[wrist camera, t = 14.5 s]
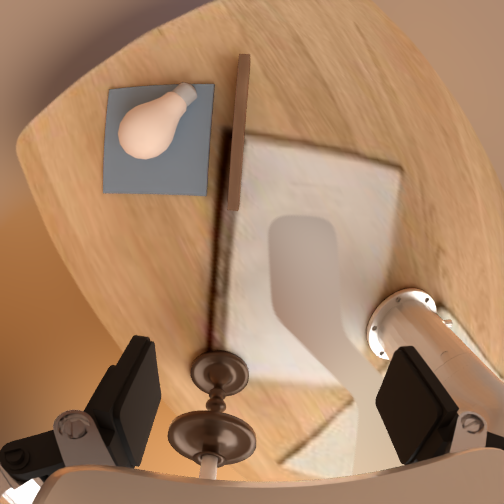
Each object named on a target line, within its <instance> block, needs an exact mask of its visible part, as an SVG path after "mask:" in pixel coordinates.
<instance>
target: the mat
mask: <svg viewBox="0 0 504 504" xmlns="http://www.w3.org/2000/svg"><path fill="white" fill-rule="evenodd" d="M178 85H179V84H173V85H153V86H139V87H128V88H119V89H110V90H109V96H108V105H107V115H106V127H105V142H104V166H103V193H129V194H169V195H194V196H207V182H208V164H209V149H210V135H211V122H212V110H213V98H214V88H215V85H214V84H191V85H193V86H194V87H195V89H196V93H197V98H196V99H195V100H194V101H193V102H192V103H191V104H190V105H189V106H187V108H186V112H185V113H184V114H183V115H182V117H181V118H180V120H179V122H178V125H177V127H176V131H175V134H174V137H173V140H172V142H171V143H170V145H169V147H168V148H167V150H166V151H164V152H163V153H161V154H160V155H159V156H157V157H154V158H150V159H138V158H134V157H133V156H131V155H129V154H127V153H126V152H125V151H124V149H123V148H122V146H121V145H120V142H119V137H118V130H119V126H120V122H121V121H122V119H123V118H124V116H125V115H126V113H127V112H129V111H130V110H131V109H133V108H134V107H136V106H138V105H141V104H144V103H147V102H150V101H153V100H155V99H158V98H160V97H162V96H163V95H165V94H166V93H167V92H172V91H173V90H174V89H175V88H176V87H177V86H178Z"/></svg>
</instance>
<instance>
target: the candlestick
mask: <svg viewBox="0 0 504 504" xmlns="http://www.w3.org/2000/svg"><path fill="white" fill-rule="evenodd" d="M191 378H192V380H193V382H194V384H195V385H196V386H197V387H198V388H199V389H200V390H202V391H203V392H205V393H208V394H209V397H210V399H209V400H208V401H207V402H206V408H207V410H208V411H193V412H188V413H185V414H182V415H180V416H178V417H176V418H175V419H174V420H173V421H172V423H171V424H170V427H169V431H168V441H169V443H170V444H171V446H172V447H173V448H174V449H175V450H176V451H177V452H179V454H181V455H183V456H184V457H186V458H188V459H191V460H193V461H194V462H196V463H197V464H199V465H201V468H200V475H199V478H202V479H212V480H216V474H217V468H218V467H222V466H224V465H228V464H234V463H238V462H240V461H243V460H245V459H247V458H248V457H250V456H251V455H252V454H253V452H254V451H255V449H256V435H255V432H254V430H253V429H252V428H251V427H250V426H249V424H247V423H246V422H244V421H243V420H241V419H239V418H237V417H235V416H232V415H229V414H226V413H222V412H224V411H225V409H226V404H225V402H224V401H223V399H224V398H225V397H226V396H230V395H234V394H237V393H238V392H240V391H242V390H243V389H244V388H245V386H246V385H247V383H248V379H249V372H248V368H247V365H246V364H245V362H244V361H243V360H242V359H241V358H240V357H238V356H236V355H235V354H232V353H230V352H226V351H219V350H217V351H209V352H206V353H203V354H201V355H200V356H198V357H197V358H196V359H195V360H194V362H193V364H192V368H191Z"/></svg>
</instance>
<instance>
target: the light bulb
mask: <svg viewBox="0 0 504 504" xmlns="http://www.w3.org/2000/svg"><path fill="white" fill-rule="evenodd" d="M196 98H197V93H196V89H195V87H194V86H193V85H191V84H188V83H184V82H182V83H181V84H179V85H178V86H177V87H176V88H175V89H174V90H173V91H172V92H167V93H166V94H165V95H163V96H162V97H160V98H158V99H155V100H153V101H150V102H147V103H144V104H141V105H138V106H136V107H134V108H133V109H131V110H130V111H129V112H127V113H126V115H125V116H124V118H123V119H122V121H121V122H120V126H119V130H118V137H119V142H120V145H121V146H122V148H123V149H124V151H125V152H126V153H127V154H129V155H131V156H133V157H134V158H138V159H150V158H154V157H157V156H159V155H160V154H161V153H163V152H164V151H166V150H167V148H168V147H169V145H170V143H171V142H172V140H173V137H174V134H175V131H176V127H177V125H178V122H179V120H180V118H181V117H182V115H183V114H184V113H185V112H186V108H187V106H189V105H190V104H191V103H192V102H193V101H194V100H195V99H196Z"/></svg>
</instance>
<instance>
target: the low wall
mask: <svg viewBox="0 0 504 504" xmlns="http://www.w3.org/2000/svg"><path fill="white" fill-rule="evenodd" d="M249 72H250V55H249V54H239V62H238V73H237V84H236V96H235V108H234V120H233V133H232V147H231V161H230V176H229V191H228V208H227V210H234V211H238V210H239V205H240V190H241V176H242V162H243V148H244V135H245V122H246V109H247V96H248V84H249Z"/></svg>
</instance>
